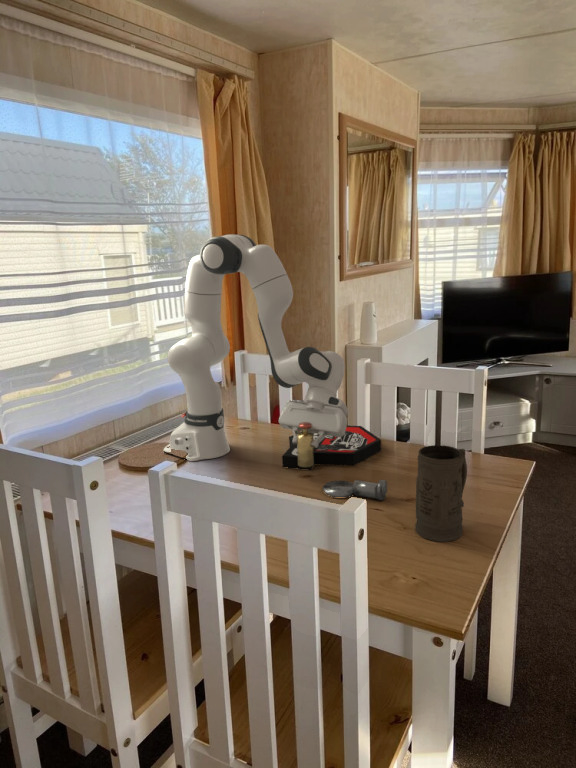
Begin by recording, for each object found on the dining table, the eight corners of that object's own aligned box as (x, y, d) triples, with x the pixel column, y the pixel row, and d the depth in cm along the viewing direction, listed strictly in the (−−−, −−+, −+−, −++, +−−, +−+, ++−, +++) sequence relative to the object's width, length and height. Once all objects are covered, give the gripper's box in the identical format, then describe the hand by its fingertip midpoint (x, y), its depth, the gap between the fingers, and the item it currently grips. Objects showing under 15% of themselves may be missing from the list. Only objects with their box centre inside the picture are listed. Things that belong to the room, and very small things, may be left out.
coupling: (317, 495, 155) (317, 477, 153) (331, 482, 162) (331, 465, 161) (378, 506, 147) (378, 487, 145) (389, 492, 154) (389, 474, 153)
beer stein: (448, 548, 126) (454, 461, 122) (405, 534, 133) (408, 451, 129) (477, 525, 137) (482, 445, 133) (435, 513, 144) (440, 436, 140)
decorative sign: (277, 470, 174) (378, 474, 167) (277, 456, 173) (377, 460, 166) (298, 432, 206) (383, 434, 200) (298, 421, 205) (383, 423, 199)
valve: (294, 465, 165) (294, 425, 162) (302, 459, 169) (301, 420, 165) (309, 468, 163) (308, 427, 159) (316, 462, 166) (316, 422, 163)
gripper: (284, 393, 172) (268, 434, 166) (347, 401, 162) (333, 445, 156) (291, 403, 176) (276, 443, 171) (353, 412, 167) (340, 455, 161)
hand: (304, 444), depth 163 cm, fingers closed on valve, 5 cm apart
